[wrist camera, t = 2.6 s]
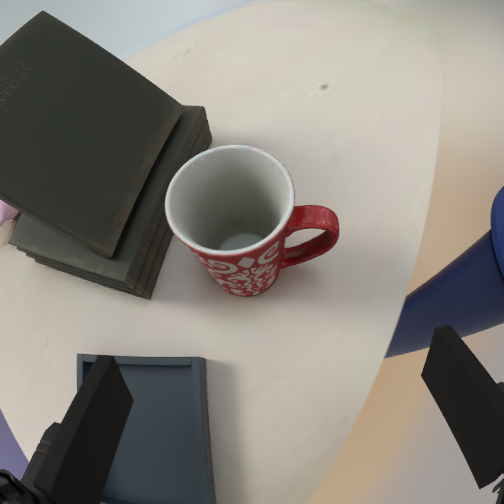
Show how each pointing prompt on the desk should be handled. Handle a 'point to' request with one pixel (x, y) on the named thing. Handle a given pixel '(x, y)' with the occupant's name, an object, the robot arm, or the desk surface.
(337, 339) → the desk surface
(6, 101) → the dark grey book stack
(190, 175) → the mug
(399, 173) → the desk surface
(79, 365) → the tray
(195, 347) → the desk surface
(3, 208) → the pink toy figure
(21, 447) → the desk surface
